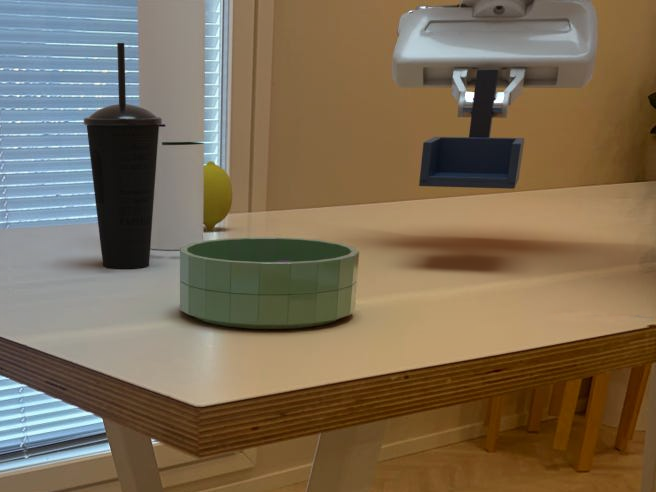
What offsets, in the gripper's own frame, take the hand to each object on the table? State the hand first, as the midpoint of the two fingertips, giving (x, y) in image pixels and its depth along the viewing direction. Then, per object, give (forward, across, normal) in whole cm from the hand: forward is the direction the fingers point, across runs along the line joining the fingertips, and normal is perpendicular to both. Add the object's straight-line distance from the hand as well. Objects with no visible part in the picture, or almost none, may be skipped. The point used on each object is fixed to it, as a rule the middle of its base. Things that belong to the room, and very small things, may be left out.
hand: (482, 113), depth 104 cm
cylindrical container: (+11, -33, +9) cm, 36 cm away
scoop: (+8, 0, +1) cm, 8 cm away
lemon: (0, -33, +20) cm, 38 cm away
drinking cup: (+21, -33, -1) cm, 39 cm away
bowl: (+35, -13, -16) cm, 41 cm away
